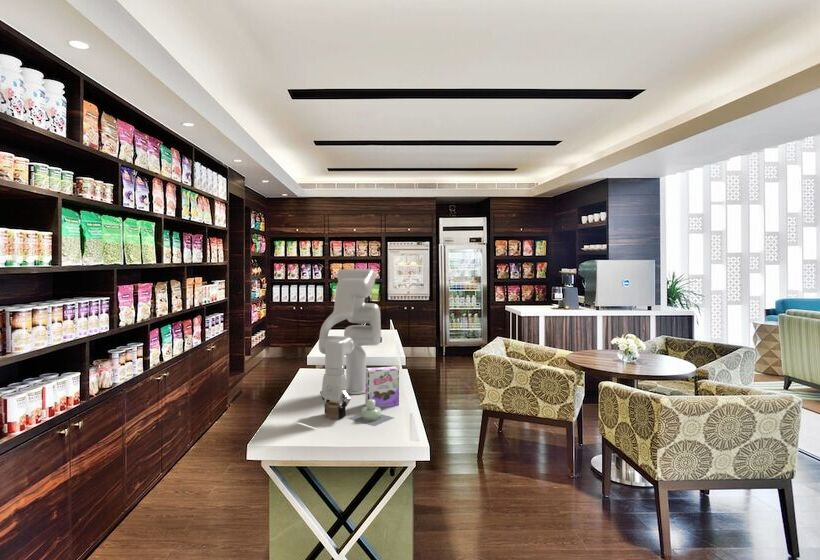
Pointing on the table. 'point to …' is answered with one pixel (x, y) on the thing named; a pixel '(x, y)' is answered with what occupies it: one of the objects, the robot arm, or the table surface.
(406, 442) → the table surface
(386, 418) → the mat
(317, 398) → the table surface
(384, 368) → the candy box
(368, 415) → the jar
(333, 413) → the brown short round piece
